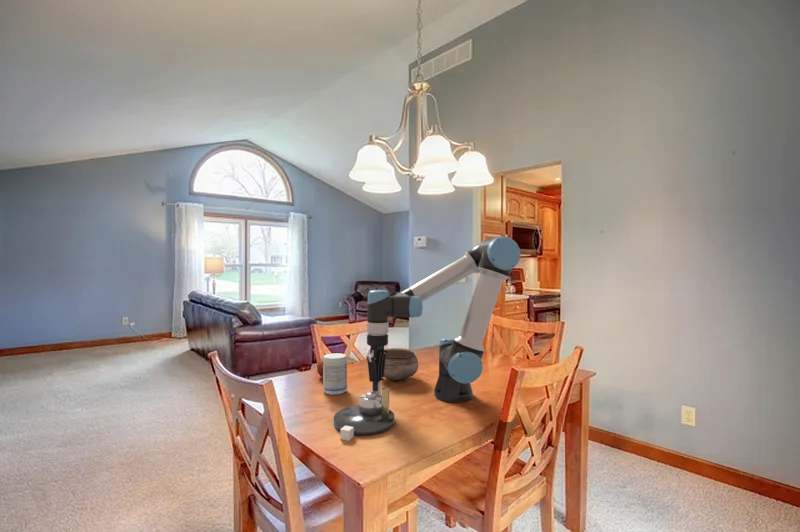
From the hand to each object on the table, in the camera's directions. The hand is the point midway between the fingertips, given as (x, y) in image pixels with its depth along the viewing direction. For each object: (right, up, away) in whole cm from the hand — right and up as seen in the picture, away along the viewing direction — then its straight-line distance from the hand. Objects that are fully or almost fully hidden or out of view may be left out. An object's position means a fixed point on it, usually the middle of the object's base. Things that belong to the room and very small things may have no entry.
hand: (376, 399), depth 142 cm
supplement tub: (-18, -4, +20) cm, 27 cm away
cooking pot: (+7, -4, +36) cm, 37 cm away
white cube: (-8, -5, -22) cm, 23 cm away
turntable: (-4, -4, -10) cm, 11 cm away
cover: (-2, -2, -5) cm, 6 cm away
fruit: (-24, -3, +38) cm, 45 cm away
